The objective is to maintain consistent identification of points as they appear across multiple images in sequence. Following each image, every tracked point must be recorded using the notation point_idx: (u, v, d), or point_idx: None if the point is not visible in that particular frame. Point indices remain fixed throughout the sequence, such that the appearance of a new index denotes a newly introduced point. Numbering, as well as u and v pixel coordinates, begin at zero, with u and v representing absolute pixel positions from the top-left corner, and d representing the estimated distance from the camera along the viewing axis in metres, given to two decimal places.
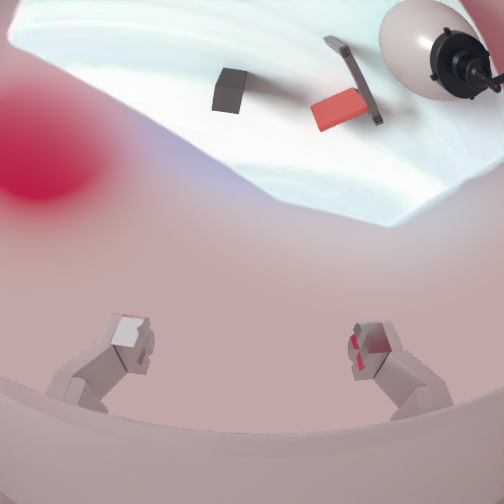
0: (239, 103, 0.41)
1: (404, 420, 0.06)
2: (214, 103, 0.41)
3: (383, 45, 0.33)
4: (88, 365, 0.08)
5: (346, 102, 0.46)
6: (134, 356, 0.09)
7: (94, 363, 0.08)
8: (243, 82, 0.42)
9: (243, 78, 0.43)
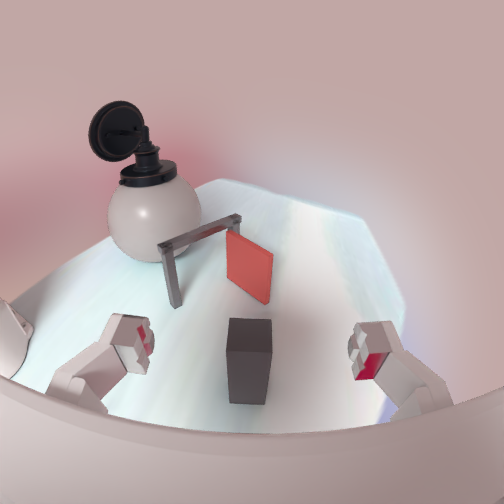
0: (252, 320, 0.30)
1: (404, 420, 0.06)
2: (258, 349, 0.27)
3: (159, 238, 0.49)
4: (88, 365, 0.08)
5: (237, 261, 0.50)
6: (135, 356, 0.09)
7: (94, 363, 0.08)
8: None
9: None
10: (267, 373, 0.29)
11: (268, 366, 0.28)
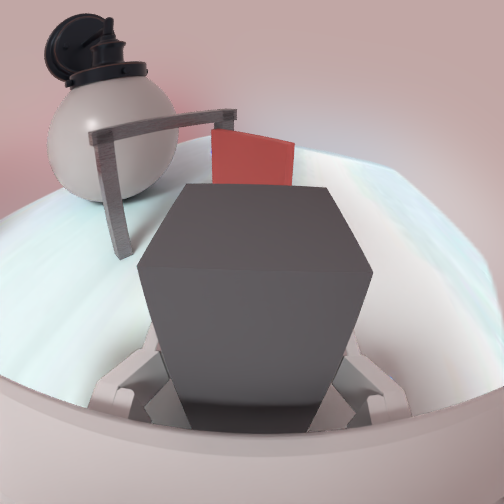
0: (265, 187, 0.09)
1: (404, 420, 0.06)
2: (303, 261, 0.05)
3: None
4: (134, 374, 0.08)
5: (230, 176, 0.28)
6: None
7: (139, 371, 0.08)
8: None
9: None
10: (323, 383, 0.07)
11: (335, 354, 0.07)
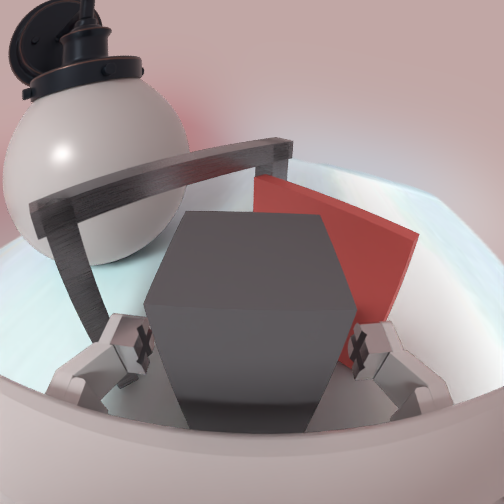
0: (261, 215, 0.09)
1: (404, 420, 0.06)
2: (294, 300, 0.06)
3: None
4: (87, 365, 0.08)
5: None
6: (135, 356, 0.09)
7: (94, 363, 0.08)
8: None
9: None
10: (314, 398, 0.08)
11: (324, 375, 0.07)
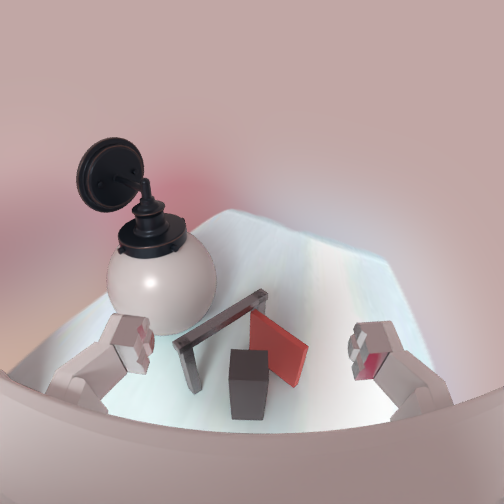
0: (251, 351, 0.34)
1: (404, 420, 0.06)
2: (256, 378, 0.30)
3: (171, 318, 0.41)
4: (88, 365, 0.08)
5: (263, 342, 0.42)
6: (135, 356, 0.09)
7: (94, 363, 0.08)
8: None
9: None
10: (264, 396, 0.32)
11: (265, 391, 0.31)
